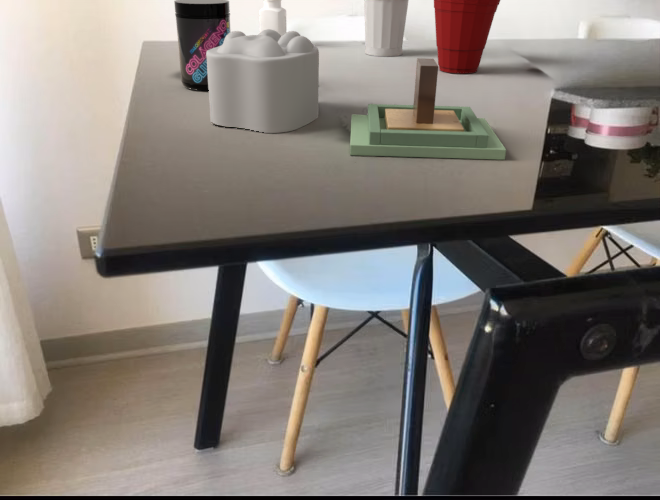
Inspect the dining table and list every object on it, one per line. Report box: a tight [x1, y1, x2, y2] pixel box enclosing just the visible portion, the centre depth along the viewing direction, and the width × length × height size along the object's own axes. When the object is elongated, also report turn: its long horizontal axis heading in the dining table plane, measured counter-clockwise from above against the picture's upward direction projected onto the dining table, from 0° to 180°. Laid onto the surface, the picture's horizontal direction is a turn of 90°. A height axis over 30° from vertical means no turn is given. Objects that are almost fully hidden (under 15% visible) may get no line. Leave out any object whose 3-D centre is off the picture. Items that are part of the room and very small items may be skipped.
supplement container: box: [173, 0, 232, 90], centre depth 80 cm, size 7×7×10 cm
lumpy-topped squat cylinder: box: [206, 29, 320, 134], centre depth 68 cm, size 10×13×9 cm
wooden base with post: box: [385, 57, 464, 132], centre depth 60 cm, size 7×7×6 cm
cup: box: [363, 0, 409, 57], centre depth 106 cm, size 8×8×12 cm
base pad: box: [349, 103, 507, 161], centre depth 61 cm, size 14×11×2 cm
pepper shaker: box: [258, 0, 288, 36], centre depth 112 cm, size 4×4×10 cm
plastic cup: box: [433, 0, 501, 75], centre depth 93 cm, size 11×11×12 cm
